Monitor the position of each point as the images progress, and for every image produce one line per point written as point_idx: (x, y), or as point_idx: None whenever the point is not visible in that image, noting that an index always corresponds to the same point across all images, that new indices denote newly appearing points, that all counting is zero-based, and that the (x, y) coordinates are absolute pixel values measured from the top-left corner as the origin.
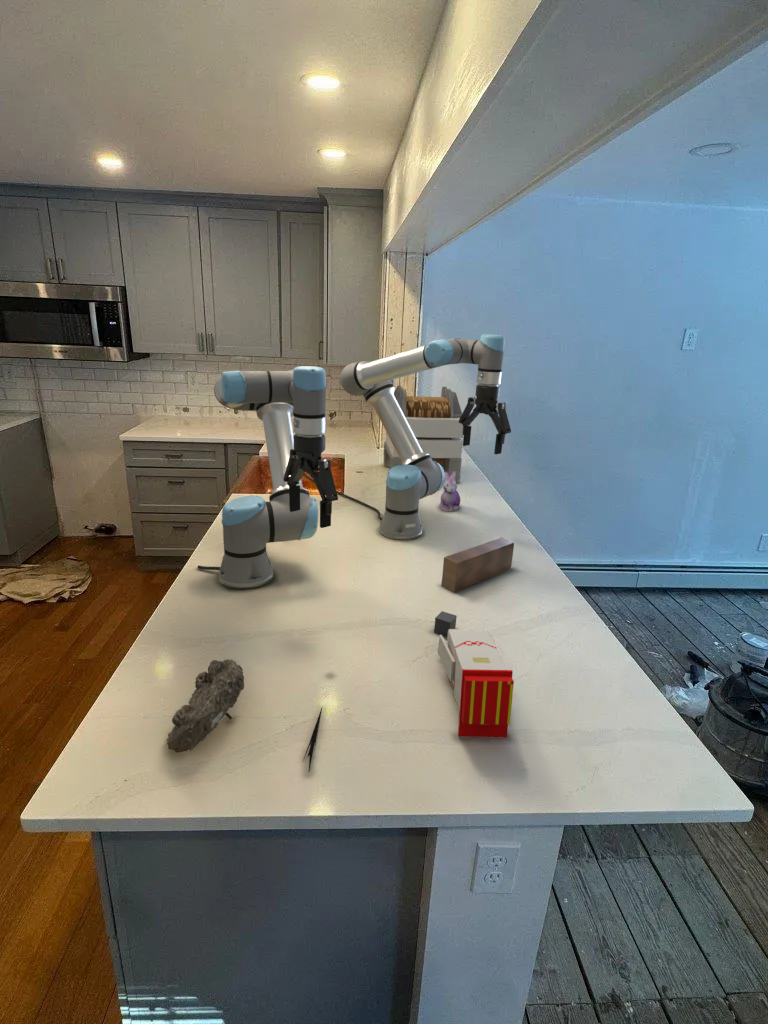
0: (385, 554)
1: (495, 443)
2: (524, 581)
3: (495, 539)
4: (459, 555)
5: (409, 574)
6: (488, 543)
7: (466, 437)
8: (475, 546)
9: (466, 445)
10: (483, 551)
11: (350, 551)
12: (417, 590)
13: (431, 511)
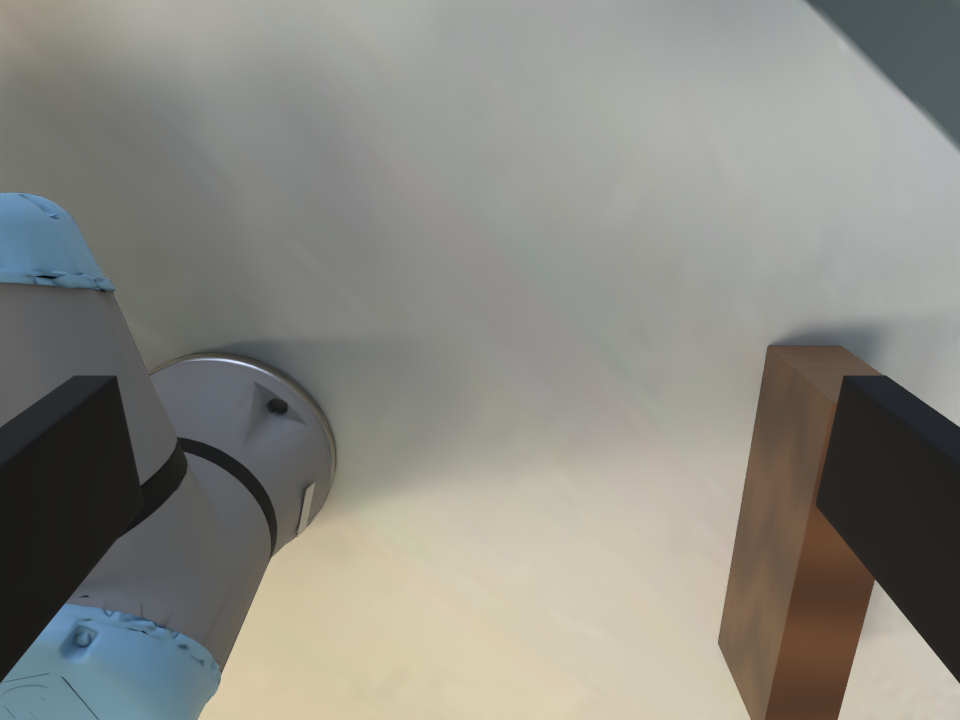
0: (398, 631)
1: (933, 645)
2: (942, 394)
3: (822, 450)
4: (797, 692)
5: (583, 665)
6: (823, 515)
7: (46, 575)
8: (794, 584)
9: (132, 456)
10: (854, 596)
11: (304, 702)
12: (682, 711)
13: (8, 69)
